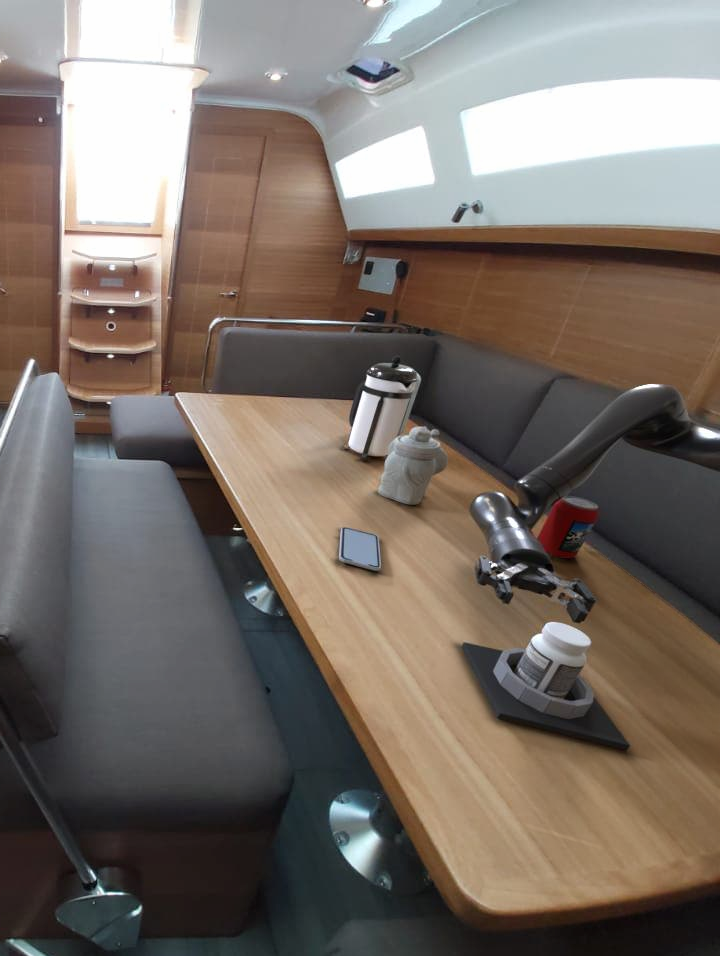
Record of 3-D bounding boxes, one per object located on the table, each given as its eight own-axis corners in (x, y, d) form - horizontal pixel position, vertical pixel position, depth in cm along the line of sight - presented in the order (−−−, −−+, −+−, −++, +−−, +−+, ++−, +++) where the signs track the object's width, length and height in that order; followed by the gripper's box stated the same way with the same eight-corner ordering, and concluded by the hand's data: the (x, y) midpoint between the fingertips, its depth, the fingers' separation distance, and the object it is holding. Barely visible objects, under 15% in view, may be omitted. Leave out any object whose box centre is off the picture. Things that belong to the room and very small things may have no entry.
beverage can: (569, 564, 101) (598, 513, 96) (528, 549, 106) (554, 499, 101) (578, 554, 105) (606, 504, 100) (538, 539, 110) (563, 491, 104)
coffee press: (401, 454, 154) (435, 356, 141) (387, 468, 143) (422, 364, 130) (343, 439, 164) (369, 347, 151) (325, 451, 154) (352, 353, 141)
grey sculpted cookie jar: (412, 480, 136) (435, 414, 128) (454, 506, 123) (484, 435, 115) (355, 480, 135) (376, 414, 126) (392, 507, 121) (418, 435, 113)
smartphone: (378, 535, 108) (381, 569, 95) (377, 538, 108) (379, 573, 96) (341, 525, 110) (339, 558, 98) (340, 529, 111) (338, 562, 99)
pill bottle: (559, 683, 71) (592, 630, 67) (566, 710, 67) (602, 655, 63) (509, 665, 74) (538, 613, 70) (513, 690, 70) (544, 636, 66)
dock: (568, 670, 75) (578, 653, 74) (626, 750, 63) (641, 732, 61) (461, 646, 79) (469, 629, 77) (497, 718, 67) (507, 699, 65)
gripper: (559, 586, 86) (593, 644, 73) (461, 561, 92) (476, 612, 79) (580, 549, 83) (618, 604, 70) (477, 526, 89) (495, 573, 76)
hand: (543, 608), depth 75 cm, fingers open, 8 cm apart
